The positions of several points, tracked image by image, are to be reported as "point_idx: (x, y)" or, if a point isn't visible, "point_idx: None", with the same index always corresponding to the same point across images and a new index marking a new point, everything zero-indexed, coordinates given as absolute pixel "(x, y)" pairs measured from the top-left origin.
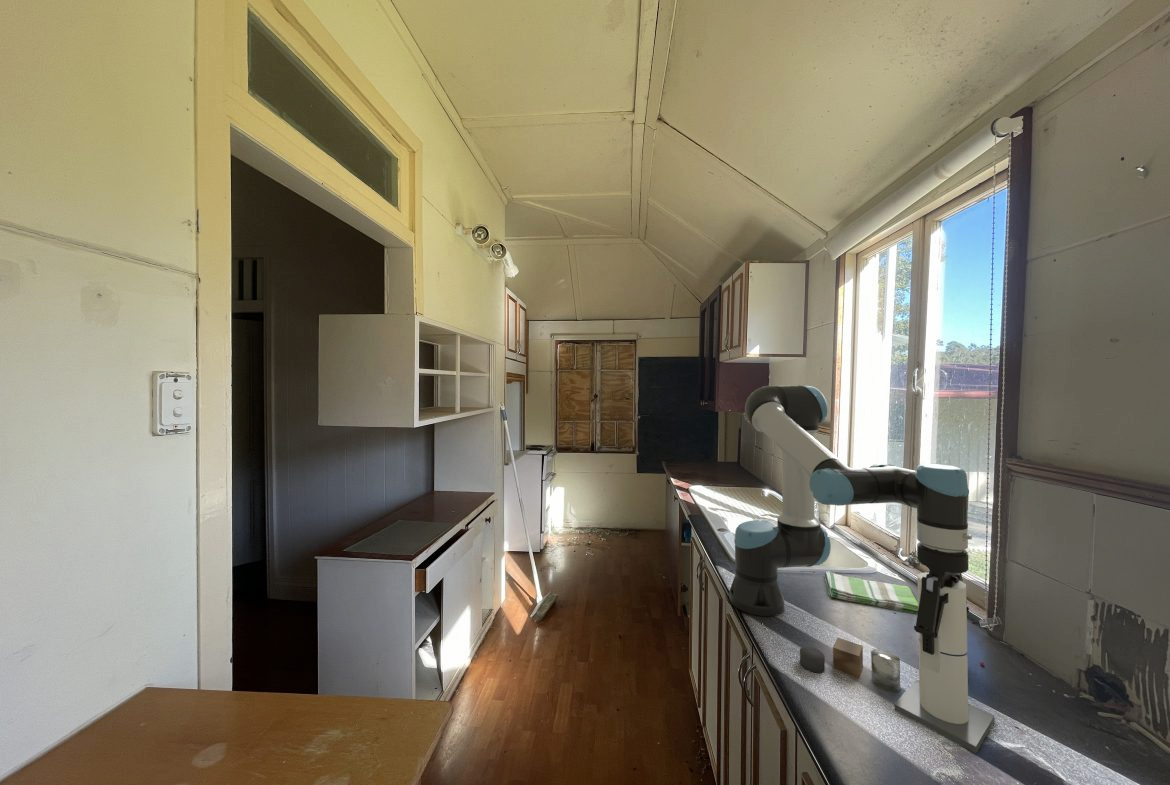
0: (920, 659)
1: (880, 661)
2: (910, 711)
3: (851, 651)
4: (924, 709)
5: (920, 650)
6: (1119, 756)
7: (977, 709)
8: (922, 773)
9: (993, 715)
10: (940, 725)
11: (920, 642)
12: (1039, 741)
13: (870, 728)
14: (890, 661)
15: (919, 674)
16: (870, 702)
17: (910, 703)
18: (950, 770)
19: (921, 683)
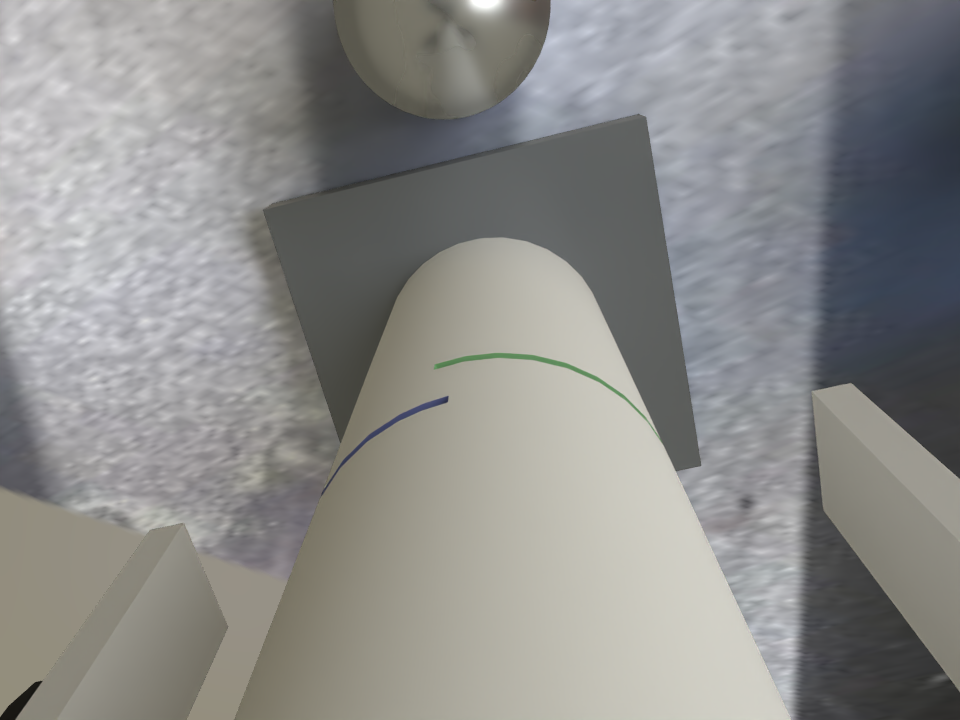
0: (129, 559)
1: (339, 34)
2: (295, 285)
3: None
4: (392, 304)
5: (90, 616)
6: (914, 710)
7: (672, 412)
8: (33, 490)
9: (696, 464)
10: (348, 405)
11: (40, 684)
12: (727, 575)
13: (12, 242)
14: (410, 77)
15: (408, 314)
16: (188, 102)
17: (361, 245)
18: (169, 522)
19: (388, 327)
